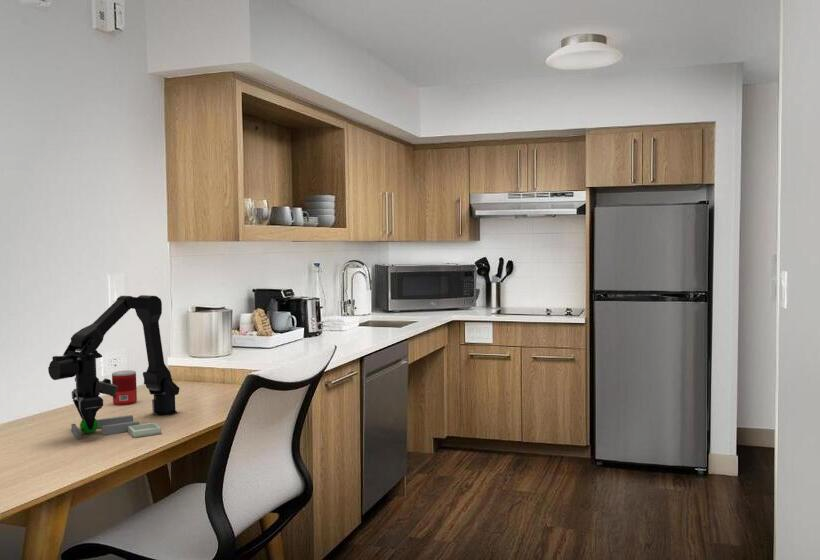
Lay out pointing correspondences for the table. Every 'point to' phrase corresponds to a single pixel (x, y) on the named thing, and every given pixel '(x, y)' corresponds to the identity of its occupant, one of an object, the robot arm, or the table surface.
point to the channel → (110, 425)
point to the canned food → (125, 387)
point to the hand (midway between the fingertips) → (88, 426)
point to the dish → (144, 430)
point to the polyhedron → (85, 428)
